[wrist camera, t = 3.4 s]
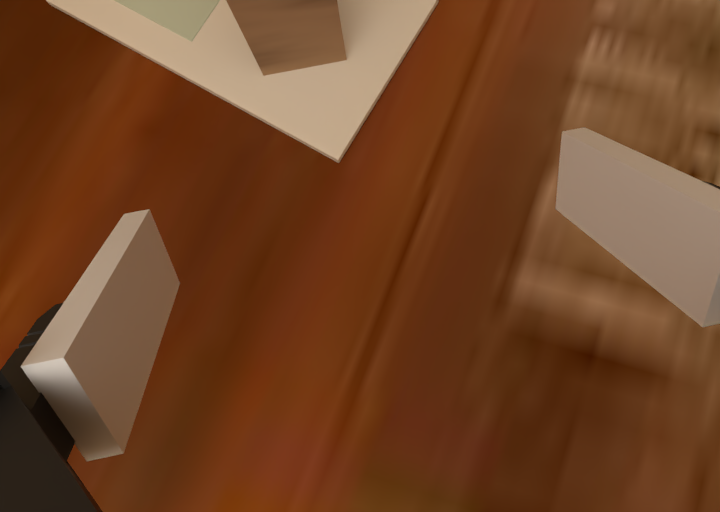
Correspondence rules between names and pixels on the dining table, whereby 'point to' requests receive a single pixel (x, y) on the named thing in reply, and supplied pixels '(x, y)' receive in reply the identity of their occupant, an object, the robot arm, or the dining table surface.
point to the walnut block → (290, 32)
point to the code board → (242, 73)
